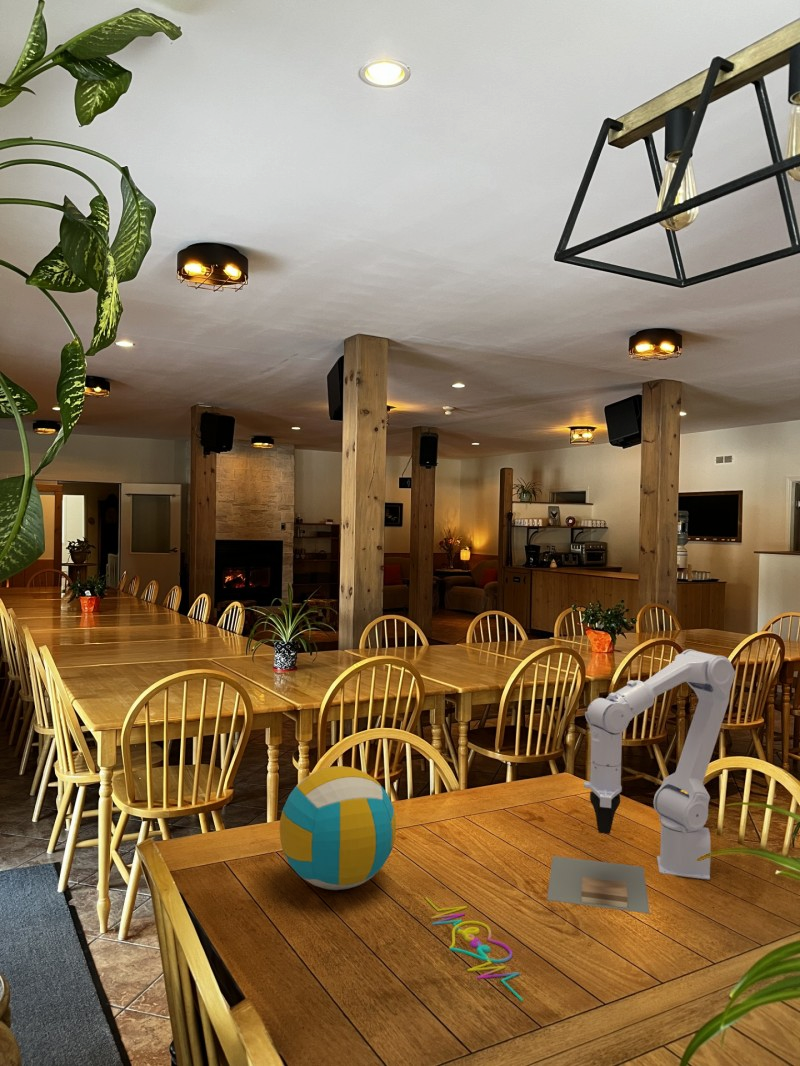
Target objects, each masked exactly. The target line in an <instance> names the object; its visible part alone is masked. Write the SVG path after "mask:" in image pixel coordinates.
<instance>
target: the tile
mask: <svg viewBox="0 0 800 1066" xmlns="http://www.w3.org/2000/svg"><path fill="white" fill-rule="evenodd" d="M582 902H585V903H593V904H600V905H608V906H615V907H623V908H627V886H626V882H618V881H610V880H602V879H593V878H585V877H582Z"/></svg>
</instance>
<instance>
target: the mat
mask: <svg viewBox="0 0 800 1066" xmlns="http://www.w3.org/2000/svg"><path fill="white" fill-rule="evenodd" d="M582 877H585V878H593V879H602V880H610V881H618V882H626V886H627V908H623V907H615V906H608V905H600V904H593V903H585V902H582ZM645 877H646V875H645V871H644V866H640V865H639V866H638V865H631V864H623V863H615V862H614V863H613V862H606V861H597V860H589V859H582V858H581V859H579V858H573V857H572V858H571V857H564V856H555V855H552V859H551V866H550V874H549V881H548V887H547V888H548V889H547V898H546V900H547V901H549V902H550V901H551V902H559V903H565V904H566V903H567V904H571V905H572V904H574V905H582V906H588V907H596V908H603V909H604V908H605V909H610V910H620V911H627V912H635V913H641V914H649V915H650V906H649V899H648V891H647V886H646V885H647V884H646V878H645Z"/></svg>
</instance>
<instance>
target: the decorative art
mask: <svg viewBox="0 0 800 1066" xmlns="http://www.w3.org/2000/svg"><path fill="white" fill-rule="evenodd" d="M424 900H426V901H427V902H428V903H429V904H430V905H431V906H432V907H433V908H434V909H435V910H436V911H437V912H443V913H439V914H437V915H434V916H431V917H430V919H431V920H436V919H440V920H438V921H437V920H436V921H434V922H431V926H436V925H437V926H438V925H446V924H452V925H453V928H452V931H451V940H452V941H451V945H450V946H449V947H448V949H449V951H452V952H457V953H461V954H465V955H467V956H470V957H473V958H475V959H478V960H480V961H484V962H486V963H483V964H480V965H476V966H473V967H471V968H468V969H467V970H466V972H467V973H468V972H479V971H481V972H482V971H488V972H485V973H482V974H480V975H478V976H477V977H476V980H484V979H492V978H500V977H501V978H502V977H504V978H502V979H500V982H501V983H502V984H503V985H504V986H505V987H506V988H507V989H508V990H509V991H510V992H511V993H513V995H514V996H516V998H517V999H518V1000H519V1001H520V1002H524V999H523V998H522V996H520V995H519V994H518V993H517V991H515V990H514V989H513V988H512V987H511V986H510V984H508V983H507V982H506V981H509V980H510V979H513V978H515V977H517V976H519V975H520V972H519V971H518V972H510V973H509V972H508V973H499V974H495V973H497V972H499V971H502V970H504V969H506V968H507V967H506V965H500V966H498V965H497V966H491V967H487V966H490V965H492V964H502V963H506V962H509V961H510V960H511V959H512V957H513V951H512V949H511V948H510V947H509V946H508V945H506V944H505V943H503V942H500V941H499V940H496V939H492V930H491V928H490V926H489V925H487V924H486V923H484V922H481V921H478V920H466V921H463V919H457V918H460V917H464V916H465V915H466V913H465V912H463V913H456V912H459V911H461V910H466V909H467V908H468V906H467V905H464V906H456V907H447V908H438V907H437V906H436V905H434V903H433V902H432V901H431V900H430V899H429V898H428V897H427V896H426V897H425V898H424ZM445 911H446V912H445ZM453 913H454V914H453ZM453 919H455V920H453ZM466 925H478V926H481V927H484V928H486V930H487V932H488V936H487V942H489V943H492V944H494V945H497V946H501V947H502V948H503V949H505V950H506V951H507V952H508V953H509V955H508V956H507V957H504V958H502V959H501V958H500V959H494V958H489V956H488V955H487V954H486V953H488V954H489V953H490V952H491V947H490V946H489V945H487V944H483V943H482V942H481V941H480V938H478V937H476V936H477V935H479V934H480V932H481V931H480V928H479V927H476V926H469V927H467V928H466V927H465V928H464V929H461V928H460V927H462V926H466ZM456 934H458V935H460V936H462V938H464V940H465V942H467V943H469V946H470V947H471V948H473V949H476V953H477V954H476V953H474V952H472V951H467V950H465V949H461V948H456V947H455V946H456ZM490 970H491V971H490Z"/></svg>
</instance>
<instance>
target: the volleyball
mask: <svg viewBox="0 0 800 1066" xmlns="http://www.w3.org/2000/svg"><path fill="white" fill-rule="evenodd" d="M279 819H280V820H279V837H280V838H279V839H280V843H281V848H282V852H283V854H284V856H285V857H286V859H287V861H288V864H289V865H290V867H291V868H292V869H293V870H294V871H295V873H296V874H297V875H298V876H299V877H300V878H302V880H305V881H306V882H308V883H309V884H312V885H313V886H315V887H318V888H322V889H325V890H331V891H338V890H348V889H351V888H356V887H358V886H361V885H363V884H364V883H366V882H367V881H369V880H370V879H372V878H373V877H374V876H375V875H376V874H377V873H378V872H379V871H380V870H381V869H382V868H383V867H384V865H385V863H386V862H387V860H388V858H389V857H390V855H391V852H392V850H393V848H394V845H395V841H396V835H397V834H396V831H397V821H396V819H397V818H396V814H395V809H394V805H393V804H392V800H391V799H390V797H389V794H388V792H387V791H386V790H385V789H384V787H383V786H382V785H381V783H380V782H378V780H376V779H375V778H374V777H373V776H371V775H369V774H368V773H367V772H364V771H362V770H359V769H357V768H355V767H350V766H343V765H337V766H328V767H325V768H322V769H319V770H315V772H313V773H312V774H310V775H307V776H306V777H304V778H303V779H302V780H301V781H299V783H298V784H296V786H295V787H294V788H293V789H292V790H291V792H290V794H289V795H288V798H287V800H286V802H285V804H284V806H283V808H282V811H281V816H280V818H279Z"/></svg>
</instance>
